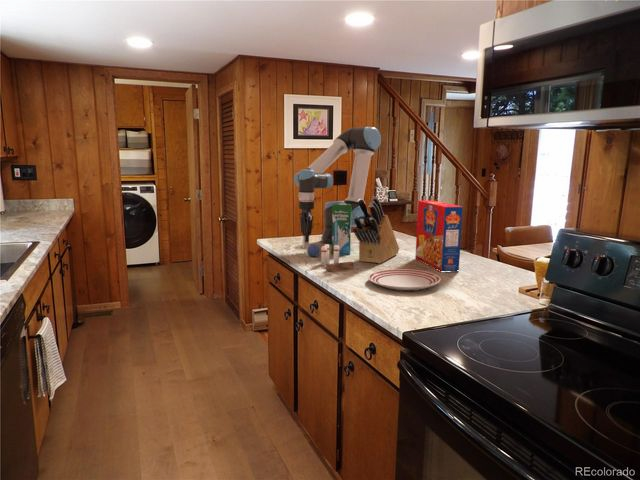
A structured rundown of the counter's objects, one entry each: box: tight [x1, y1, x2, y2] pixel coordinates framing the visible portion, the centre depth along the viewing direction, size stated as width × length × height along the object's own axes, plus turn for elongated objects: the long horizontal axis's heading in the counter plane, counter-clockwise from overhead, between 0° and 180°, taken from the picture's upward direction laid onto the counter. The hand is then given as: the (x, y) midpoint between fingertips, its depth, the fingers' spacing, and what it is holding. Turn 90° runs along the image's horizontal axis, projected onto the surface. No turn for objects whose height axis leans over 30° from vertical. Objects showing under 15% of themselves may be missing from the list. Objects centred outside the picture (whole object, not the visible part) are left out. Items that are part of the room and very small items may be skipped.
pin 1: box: [320, 245, 327, 267], centre depth 208 cm, size 2×2×8 cm
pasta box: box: [415, 200, 464, 271], centre depth 210 cm, size 28×8×28 cm, turn 11°
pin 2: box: [333, 246, 340, 263], centre depth 211 cm, size 2×2×8 cm
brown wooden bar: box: [325, 261, 355, 273], centre depth 201 cm, size 12×2×3 cm, turn 114°
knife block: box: [352, 196, 400, 264], centre depth 219 cm, size 11×35×31 cm, turn 152°
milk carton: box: [331, 203, 352, 256], centre depth 236 cm, size 9×9×25 cm
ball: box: [307, 243, 321, 258], centre depth 227 cm, size 6×6×6 cm
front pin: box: [323, 243, 330, 264], centre depth 213 cm, size 2×2×8 cm
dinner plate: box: [367, 268, 442, 291], centre depth 180 cm, size 27×27×3 cm
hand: (305, 247), depth 235 cm, fingers closed
